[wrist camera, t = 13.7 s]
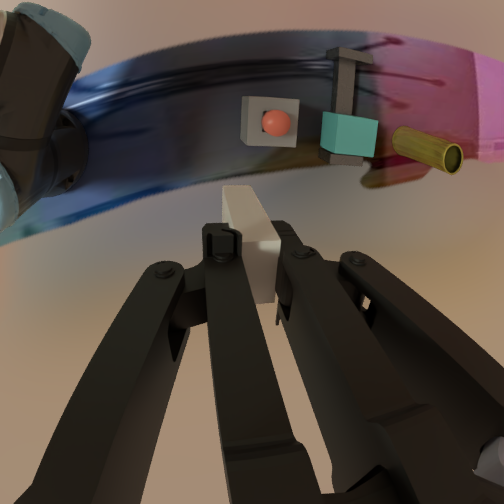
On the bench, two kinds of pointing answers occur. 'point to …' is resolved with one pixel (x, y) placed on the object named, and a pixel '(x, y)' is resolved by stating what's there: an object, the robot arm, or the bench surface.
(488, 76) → the bench surface
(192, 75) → the bench surface
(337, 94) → the rail
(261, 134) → the grey cube housing
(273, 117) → the red ball knob
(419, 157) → the vase
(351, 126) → the block
